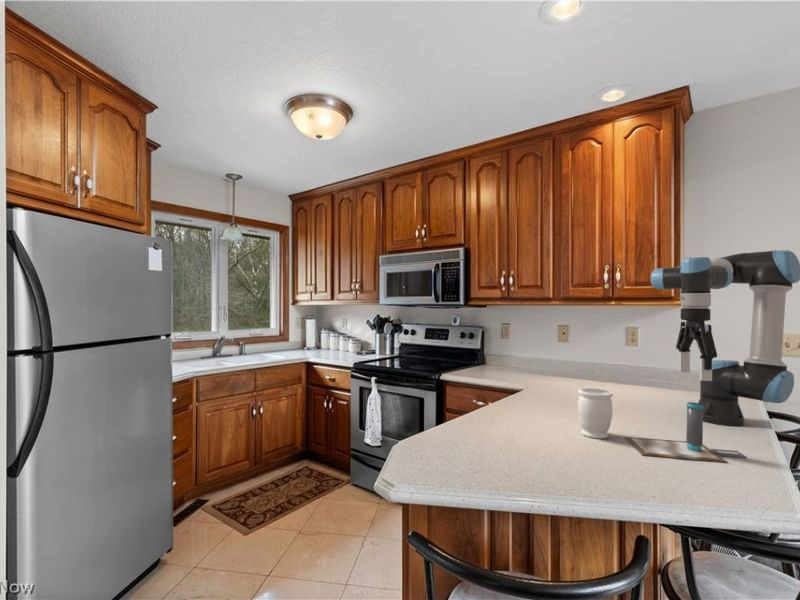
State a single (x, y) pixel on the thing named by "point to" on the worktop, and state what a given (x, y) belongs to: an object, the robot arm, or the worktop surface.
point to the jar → (595, 412)
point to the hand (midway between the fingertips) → (694, 376)
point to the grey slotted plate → (728, 453)
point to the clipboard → (672, 450)
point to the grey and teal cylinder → (694, 426)
